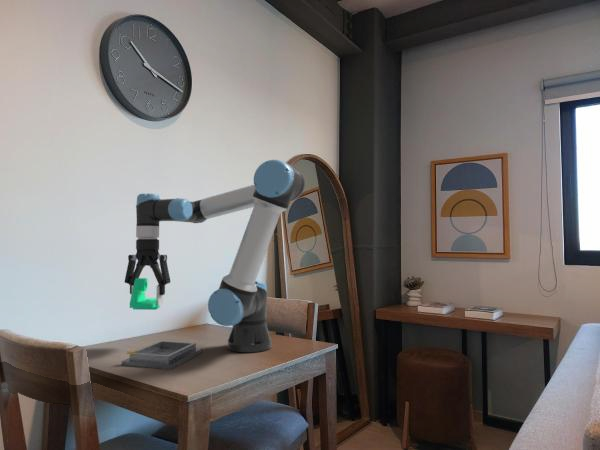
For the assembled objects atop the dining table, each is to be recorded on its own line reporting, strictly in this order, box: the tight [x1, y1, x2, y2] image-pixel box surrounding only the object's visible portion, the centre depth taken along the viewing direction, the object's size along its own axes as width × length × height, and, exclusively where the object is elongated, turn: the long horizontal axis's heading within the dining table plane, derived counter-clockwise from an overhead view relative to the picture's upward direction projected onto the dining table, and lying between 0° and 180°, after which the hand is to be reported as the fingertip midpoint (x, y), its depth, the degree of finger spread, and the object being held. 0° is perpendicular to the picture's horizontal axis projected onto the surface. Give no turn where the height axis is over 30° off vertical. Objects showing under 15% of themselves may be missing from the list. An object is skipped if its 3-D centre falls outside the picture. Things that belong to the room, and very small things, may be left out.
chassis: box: [121, 340, 203, 370], centre depth 135 cm, size 16×20×4 cm
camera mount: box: [129, 277, 161, 311], centre depth 147 cm, size 12×8×10 cm, turn 3°
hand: (147, 304), depth 147 cm, fingers closed on camera mount, 9 cm apart
